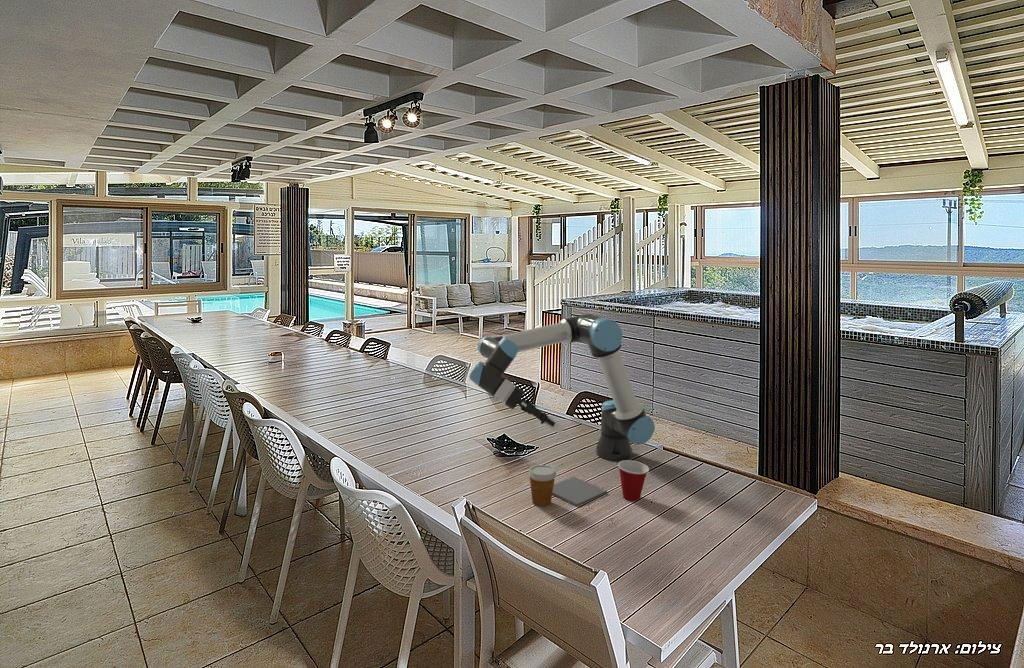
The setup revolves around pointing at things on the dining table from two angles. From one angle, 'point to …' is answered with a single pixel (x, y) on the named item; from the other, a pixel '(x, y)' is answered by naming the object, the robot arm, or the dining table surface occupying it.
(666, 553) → the dining table surface
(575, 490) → the slate board
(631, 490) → the plastic cup
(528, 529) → the dining table surface
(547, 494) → the disposable coffee cup
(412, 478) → the dining table surface
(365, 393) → the dining table surface
